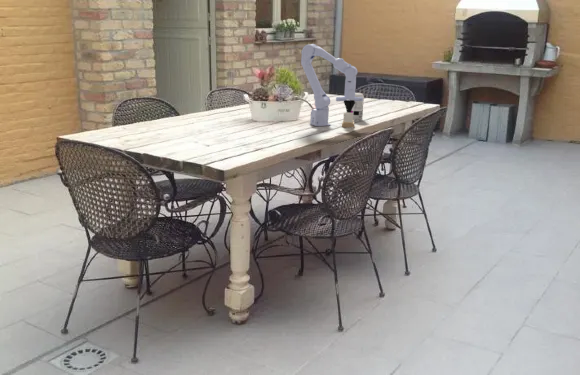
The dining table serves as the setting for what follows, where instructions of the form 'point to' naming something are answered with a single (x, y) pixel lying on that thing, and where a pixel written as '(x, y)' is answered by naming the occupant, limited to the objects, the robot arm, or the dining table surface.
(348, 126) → the carton
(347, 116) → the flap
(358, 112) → the supplement can
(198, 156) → the dining table surface
